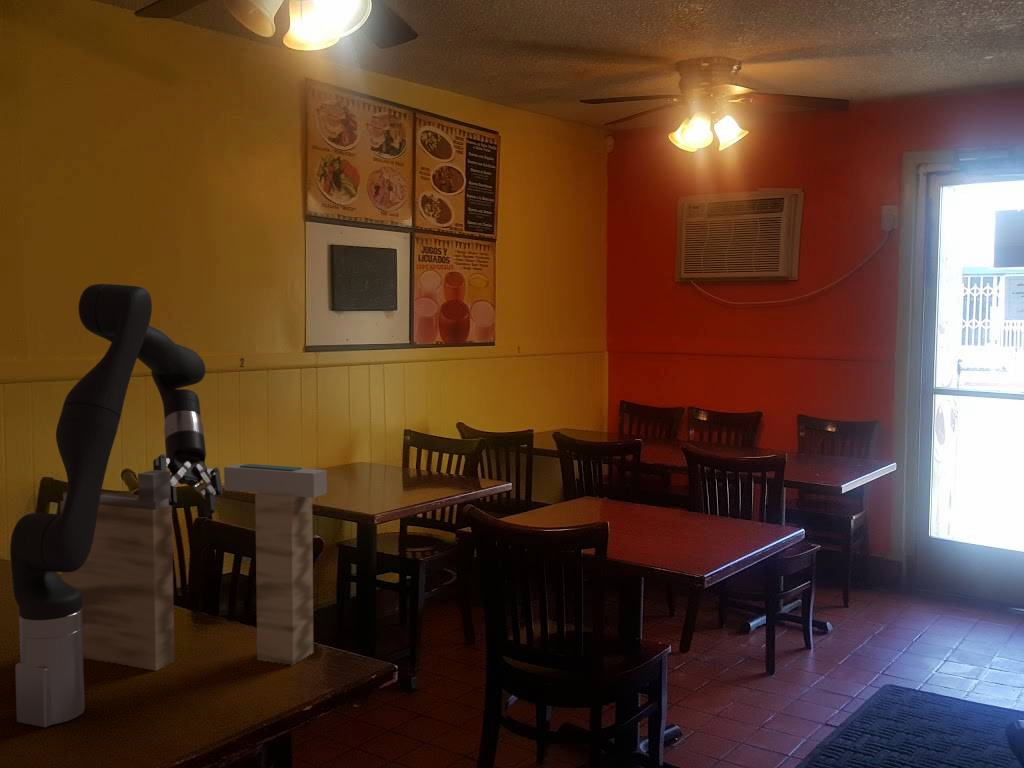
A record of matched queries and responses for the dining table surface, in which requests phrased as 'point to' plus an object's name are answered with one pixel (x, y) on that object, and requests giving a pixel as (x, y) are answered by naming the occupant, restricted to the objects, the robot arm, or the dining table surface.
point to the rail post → (130, 577)
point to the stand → (284, 577)
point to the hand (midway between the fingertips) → (191, 510)
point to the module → (275, 480)
